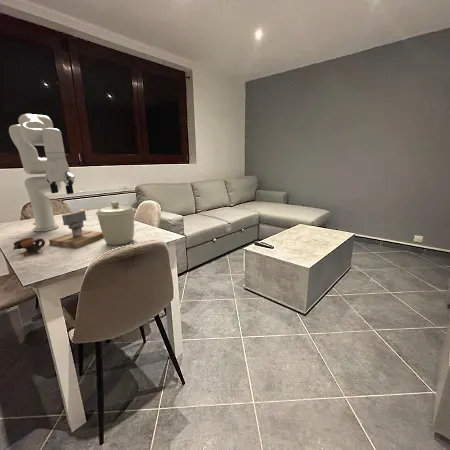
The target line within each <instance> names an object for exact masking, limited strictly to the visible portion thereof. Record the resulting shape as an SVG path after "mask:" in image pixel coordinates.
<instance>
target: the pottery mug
mask: <svg viewBox="0 0 450 450" xmlns="http://www.w3.org/2000/svg"><path fill="white" fill-rule="evenodd" d="M40 242H41V244H40ZM13 245H14V246H13V249H12V250H13V251H15V250H24V251H23V252H21V254H22V256H23V257H24V258H25V257H28V256H32V255H36V254H39V251H41V250H42V248H44V247H45V245H46V241H45V240H44V239H43V238H38V239H34V238H33V237H26V238H25V237H24V238H22V239H20V240H19V239H18V240H17V241H15V242H14V243H13Z"/></svg>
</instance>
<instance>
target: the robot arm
mask: <svg viewBox="0 0 450 450" xmlns="http://www.w3.org/2000/svg"><path fill="white" fill-rule="evenodd" d="M8 133H9V136H10V138H11V141H12V142H13V144H14V145H15V147H16V148H17V150H18V153H19V158H20V161H21V164H22V168H23V170H24V172H25V173H26V174H27V175H30V177H28V178H26V179H25V180H24V187H25V189H26V191H27V194H28V197H29V201H30V205H31V209H32V214H33V217H34V222H33V224H32V225H33V226H35V227H34V228H33V231H34V232H48V231H52V230H56V229H58V228H59V225H58V224H56V222H55V218H54V212H53V208H52V203H51V200H50V197H48V196H47V195H45V193H51V194H57V193H59V191H60V190H62V182H63V183H64V184H65V191H66V194H67V195H72V194H74V188H73V186H74V183H75V175H73V174H72V173H71V170H70V167H69V164H68V162H67V161H68V160H67V158H66V153H65V147H64V142H63V137H62V132H61V130H60V129H58V128H54V124H53V121H52V119H51V118H50V117H49V116H48V115H43V114H32V113H24V114H21V115H20V116H19V117H18V124H12V125H10V126H9V128H8ZM35 146H43V148H44V153H45V157H40V156H39V153H38V149H37V148H36V147H35ZM34 175H36V176H34ZM37 175H41V176H37ZM42 175H44V176H42ZM31 176H32V177H31Z"/></svg>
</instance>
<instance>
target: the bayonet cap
mask: <svg viewBox="0 0 450 450" xmlns="http://www.w3.org/2000/svg"><path fill="white" fill-rule="evenodd" d="M86 216H87V215H86V210H85V209H79V210H78V211H75V212H69V213H66V214H62V215H61V217H62V222H63V226H68V229H70V230H72V229H78V228H84V226H85V225H84V221H85V222H86V221H87V217H86Z"/></svg>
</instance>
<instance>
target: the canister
mask: <svg viewBox="0 0 450 450" xmlns="http://www.w3.org/2000/svg"><path fill="white" fill-rule="evenodd" d="M135 211H136V209H135V208H133V207H132V206H130V205H120V204H119V202H118V201H116V200H115V201H112V202H111V203H110V206H105V207H103V208H101V207H100V209H98V210H97V211H96V212H95V215H96V216H97V218H98V222H99V223H98V224H99V226H100V229H101V232H102V234H103V237H104V238H103V239H104V241H105V243H106V244H108V245H109V246H110V245H111V246H120V245H121V246H122V245H125V244H129V243H130V242H132V240H134V237H135V236H134V234H135Z"/></svg>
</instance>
